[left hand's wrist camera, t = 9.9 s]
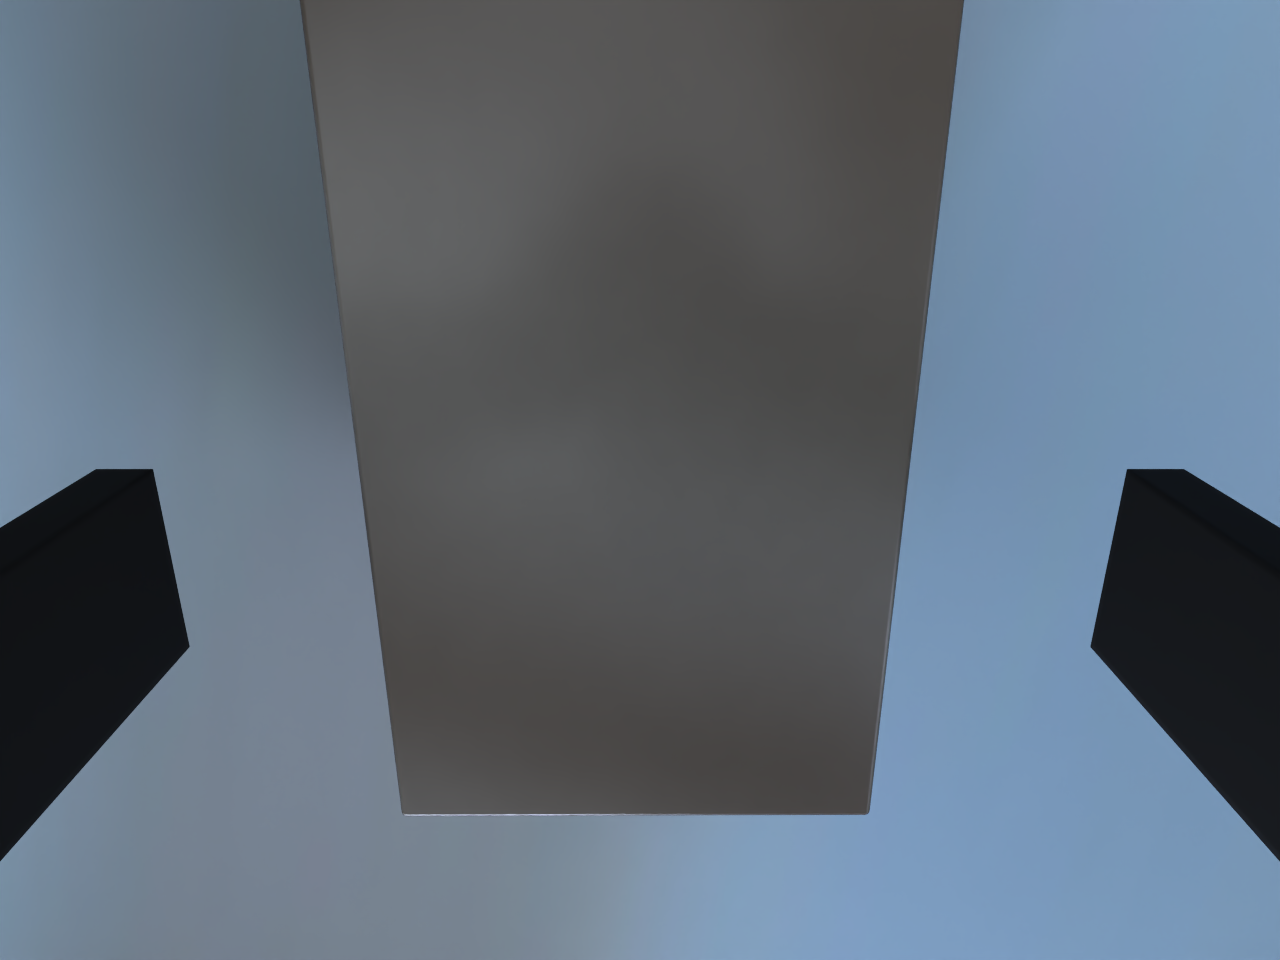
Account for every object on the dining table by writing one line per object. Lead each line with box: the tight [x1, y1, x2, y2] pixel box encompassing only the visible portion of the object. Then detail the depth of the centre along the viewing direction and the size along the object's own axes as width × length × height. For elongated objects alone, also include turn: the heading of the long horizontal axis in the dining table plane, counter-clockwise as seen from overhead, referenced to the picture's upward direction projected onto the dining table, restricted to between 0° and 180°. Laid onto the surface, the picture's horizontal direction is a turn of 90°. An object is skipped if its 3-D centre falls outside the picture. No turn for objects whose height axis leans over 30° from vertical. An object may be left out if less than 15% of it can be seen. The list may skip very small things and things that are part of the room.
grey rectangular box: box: [300, 0, 964, 816], centre depth 14 cm, size 21×6×12 cm, turn 0°
